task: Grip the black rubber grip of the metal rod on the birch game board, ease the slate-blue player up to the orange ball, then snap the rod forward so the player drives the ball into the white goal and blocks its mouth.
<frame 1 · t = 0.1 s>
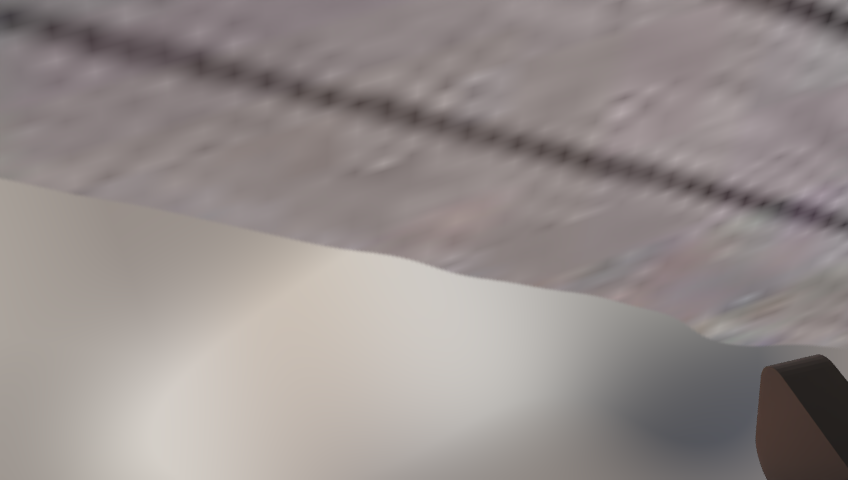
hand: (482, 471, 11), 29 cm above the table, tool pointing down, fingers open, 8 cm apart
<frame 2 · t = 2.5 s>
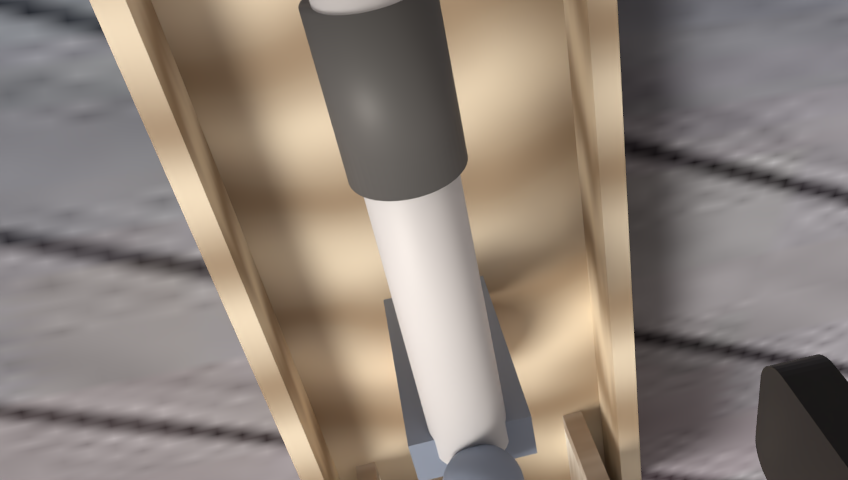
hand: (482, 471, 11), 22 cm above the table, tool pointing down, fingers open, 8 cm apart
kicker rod: (422, 233, 26), point 8 cm above the table, slide at 0.0 cm
game board: (424, 255, 37), on the table
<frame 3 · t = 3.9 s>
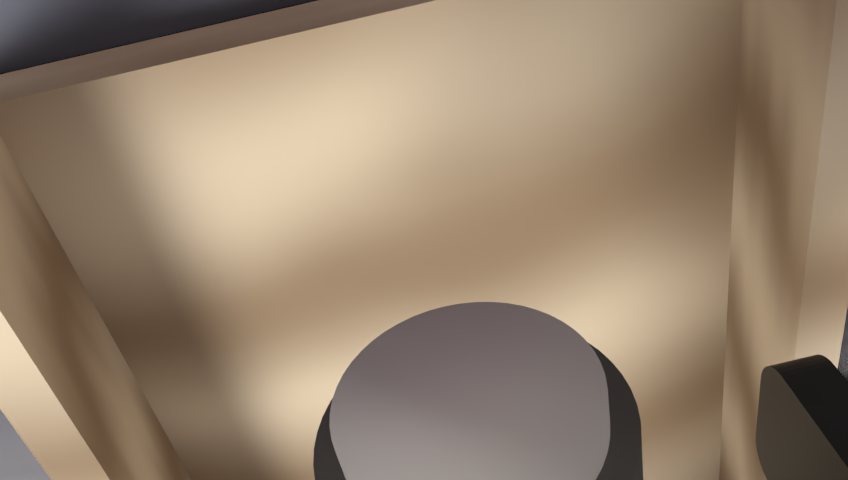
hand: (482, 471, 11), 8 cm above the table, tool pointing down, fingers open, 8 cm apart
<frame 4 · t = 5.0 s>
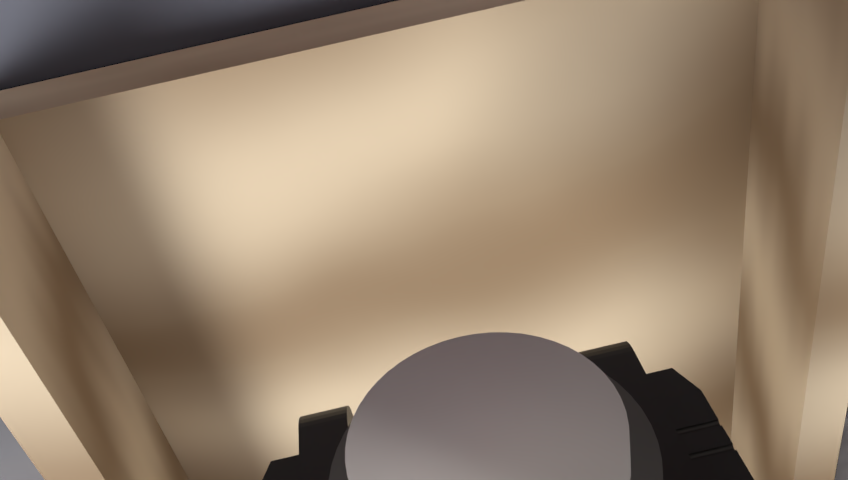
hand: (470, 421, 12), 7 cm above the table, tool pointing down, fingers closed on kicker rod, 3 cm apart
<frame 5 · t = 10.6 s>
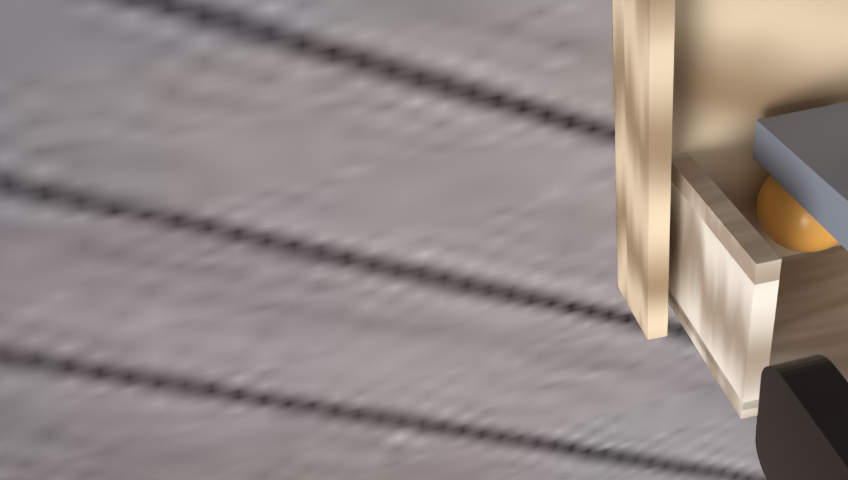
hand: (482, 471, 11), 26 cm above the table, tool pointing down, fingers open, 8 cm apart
ball: (806, 205, 38), point 4 cm above the table, tilted 132°, touching game board
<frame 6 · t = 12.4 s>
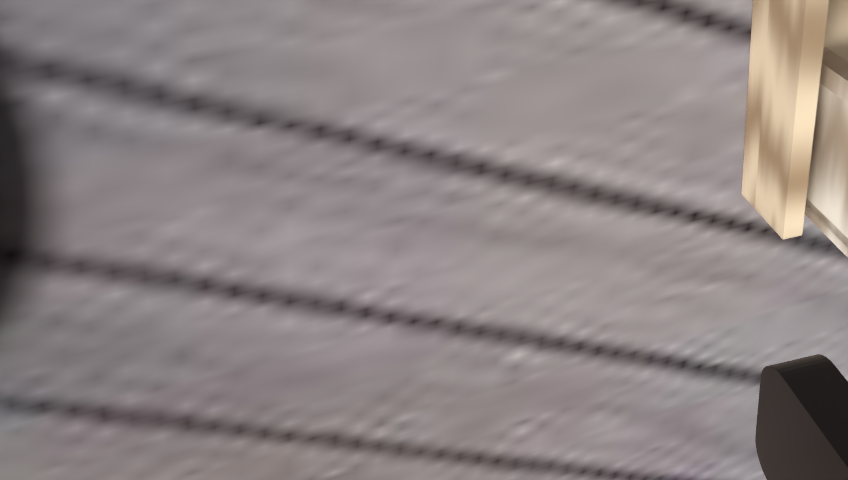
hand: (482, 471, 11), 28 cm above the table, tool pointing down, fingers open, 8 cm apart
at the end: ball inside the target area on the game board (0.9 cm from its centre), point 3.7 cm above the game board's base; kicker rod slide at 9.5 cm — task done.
